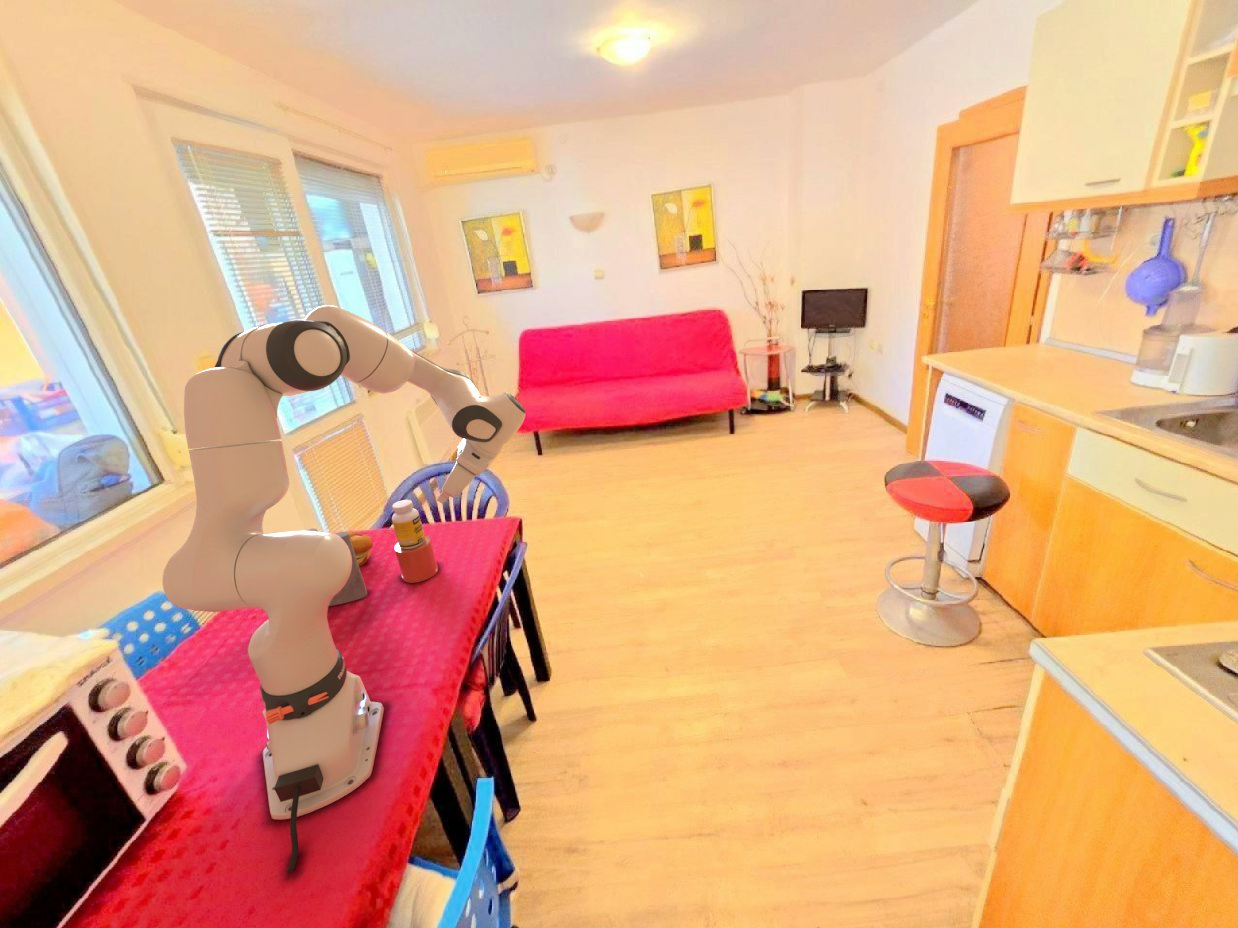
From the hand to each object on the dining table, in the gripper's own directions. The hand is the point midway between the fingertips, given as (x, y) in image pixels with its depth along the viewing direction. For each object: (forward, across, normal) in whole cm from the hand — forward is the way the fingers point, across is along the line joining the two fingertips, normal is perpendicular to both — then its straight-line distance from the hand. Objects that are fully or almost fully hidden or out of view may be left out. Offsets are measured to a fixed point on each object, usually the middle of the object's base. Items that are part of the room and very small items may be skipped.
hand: (444, 492), depth 125 cm
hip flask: (+38, +6, -5) cm, 39 cm away
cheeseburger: (+40, -13, -7) cm, 42 cm away
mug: (+25, -4, +8) cm, 27 cm away
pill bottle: (+18, -3, +2) cm, 19 cm away
